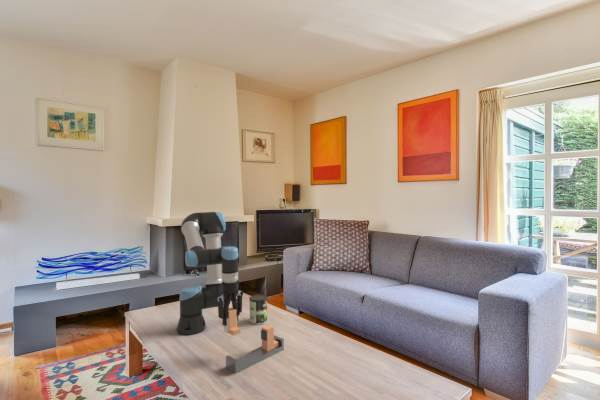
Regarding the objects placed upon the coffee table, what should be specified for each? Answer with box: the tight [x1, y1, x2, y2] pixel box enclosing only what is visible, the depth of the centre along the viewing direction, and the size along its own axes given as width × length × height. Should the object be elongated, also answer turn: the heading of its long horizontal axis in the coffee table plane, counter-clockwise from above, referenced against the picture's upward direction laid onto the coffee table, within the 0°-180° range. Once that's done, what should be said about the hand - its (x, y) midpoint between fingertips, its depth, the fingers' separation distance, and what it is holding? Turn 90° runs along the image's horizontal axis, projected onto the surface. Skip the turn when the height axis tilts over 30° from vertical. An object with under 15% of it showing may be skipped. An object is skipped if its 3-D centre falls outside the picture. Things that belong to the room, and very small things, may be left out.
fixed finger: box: [260, 324, 279, 351], centre depth 157 cm, size 4×8×10 cm, turn 137°
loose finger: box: [227, 307, 241, 337], centre depth 154 cm, size 4×8×10 cm, turn 47°
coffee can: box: [248, 294, 268, 326], centre depth 194 cm, size 10×10×14 cm
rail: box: [225, 334, 285, 374], centre depth 151 cm, size 7×28×5 cm, turn 137°
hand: (230, 330), depth 155 cm, fingers closed on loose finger, 4 cm apart
